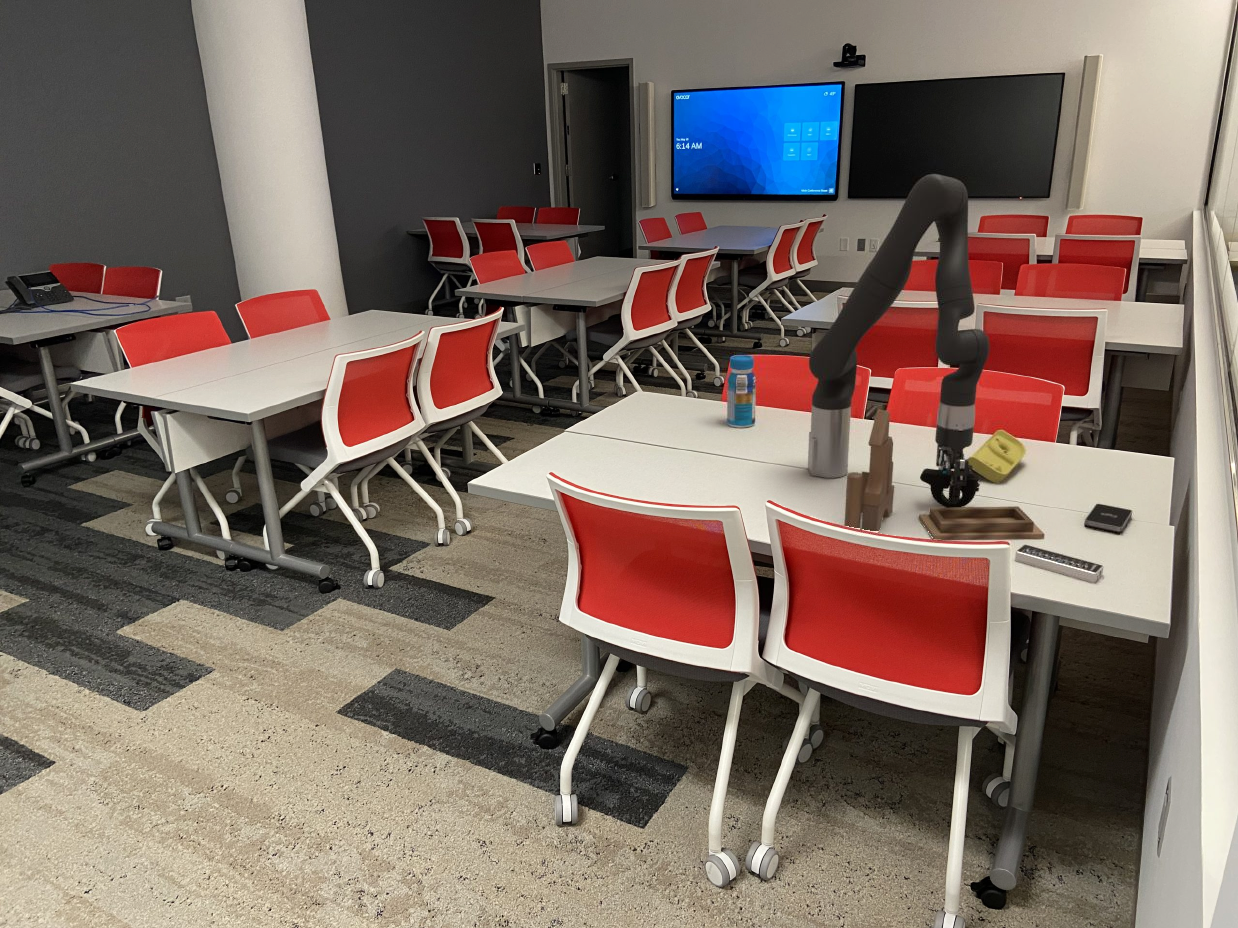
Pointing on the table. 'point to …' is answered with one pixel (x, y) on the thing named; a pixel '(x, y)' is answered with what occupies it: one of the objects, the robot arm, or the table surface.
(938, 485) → the controller
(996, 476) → the plastic component
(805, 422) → the table surface
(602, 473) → the table surface
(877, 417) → the wooden toy
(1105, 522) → the external hard drive
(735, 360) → the beverage bottle
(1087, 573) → the multiport hub
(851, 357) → the robot arm
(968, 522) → the cradle
